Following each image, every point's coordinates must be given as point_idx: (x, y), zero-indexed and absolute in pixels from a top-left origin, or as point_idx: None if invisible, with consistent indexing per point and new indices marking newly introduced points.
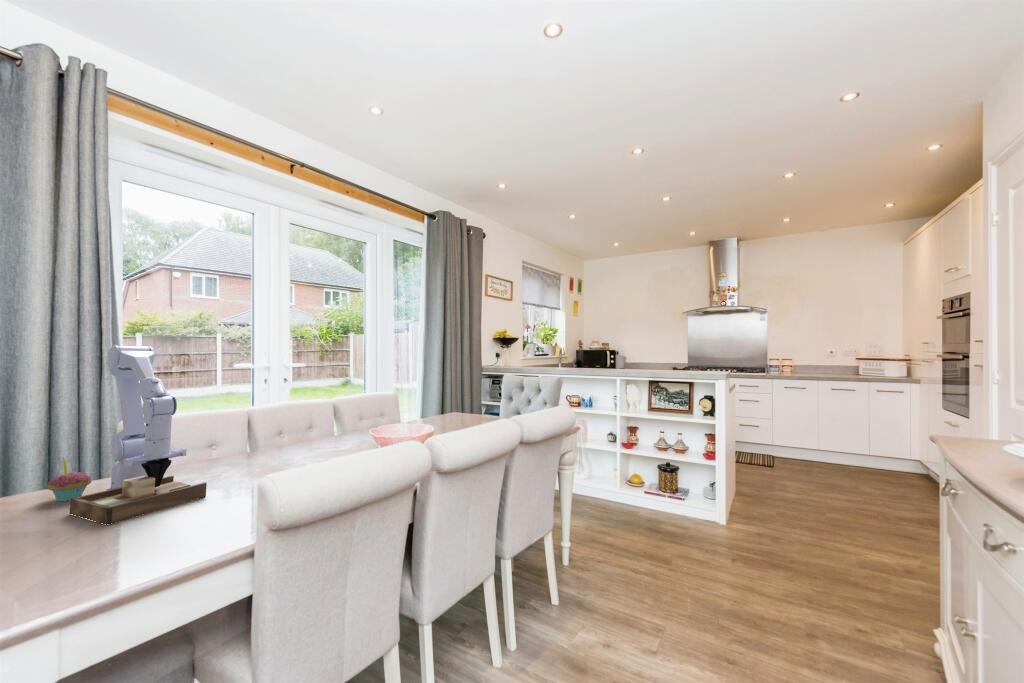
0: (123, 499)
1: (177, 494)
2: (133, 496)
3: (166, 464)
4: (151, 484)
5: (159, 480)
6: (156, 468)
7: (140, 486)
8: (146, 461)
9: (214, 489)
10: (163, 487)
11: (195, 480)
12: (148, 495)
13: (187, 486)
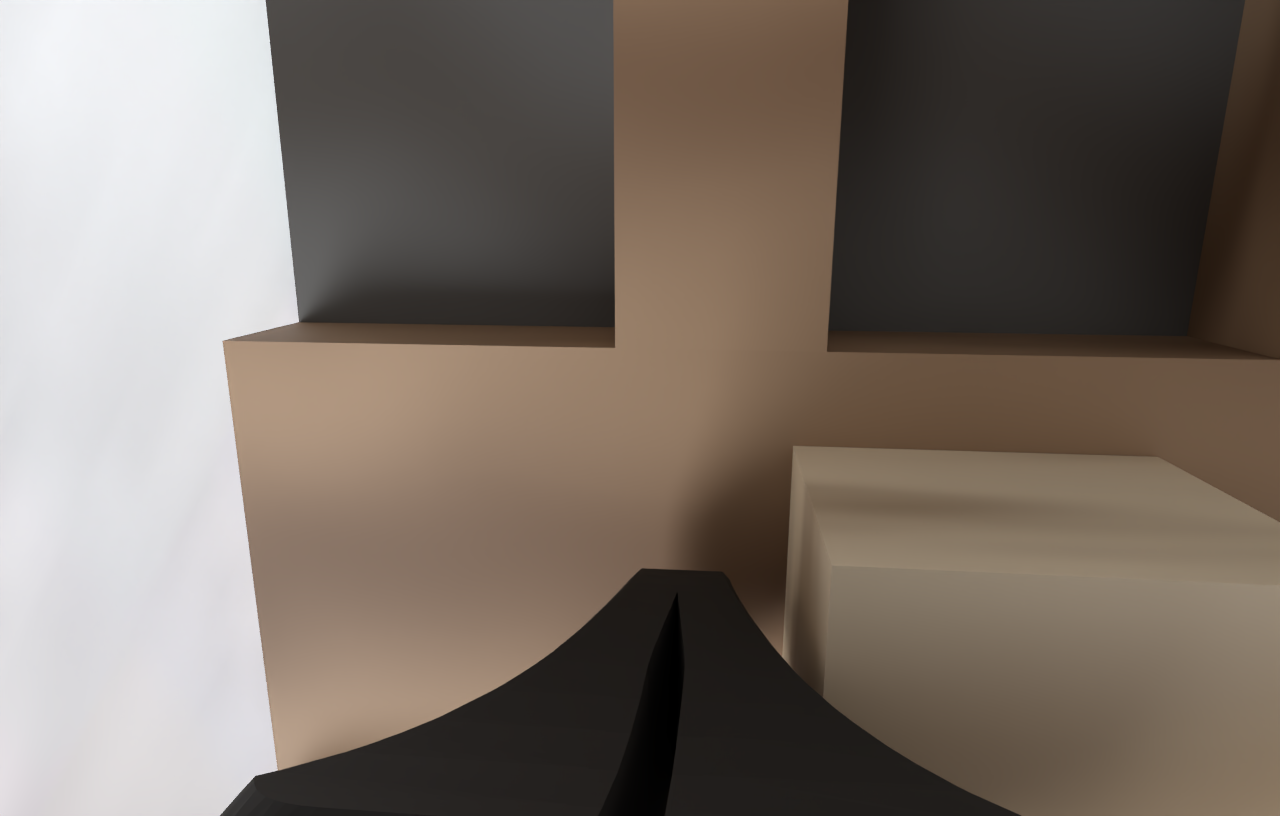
0: (1274, 512)
1: None
2: (1163, 462)
3: (448, 785)
4: (885, 510)
5: (658, 601)
6: (835, 776)
7: (1131, 525)
8: None
9: (16, 165)
10: (549, 593)
11: (3, 808)
12: (952, 357)
13: (286, 340)
